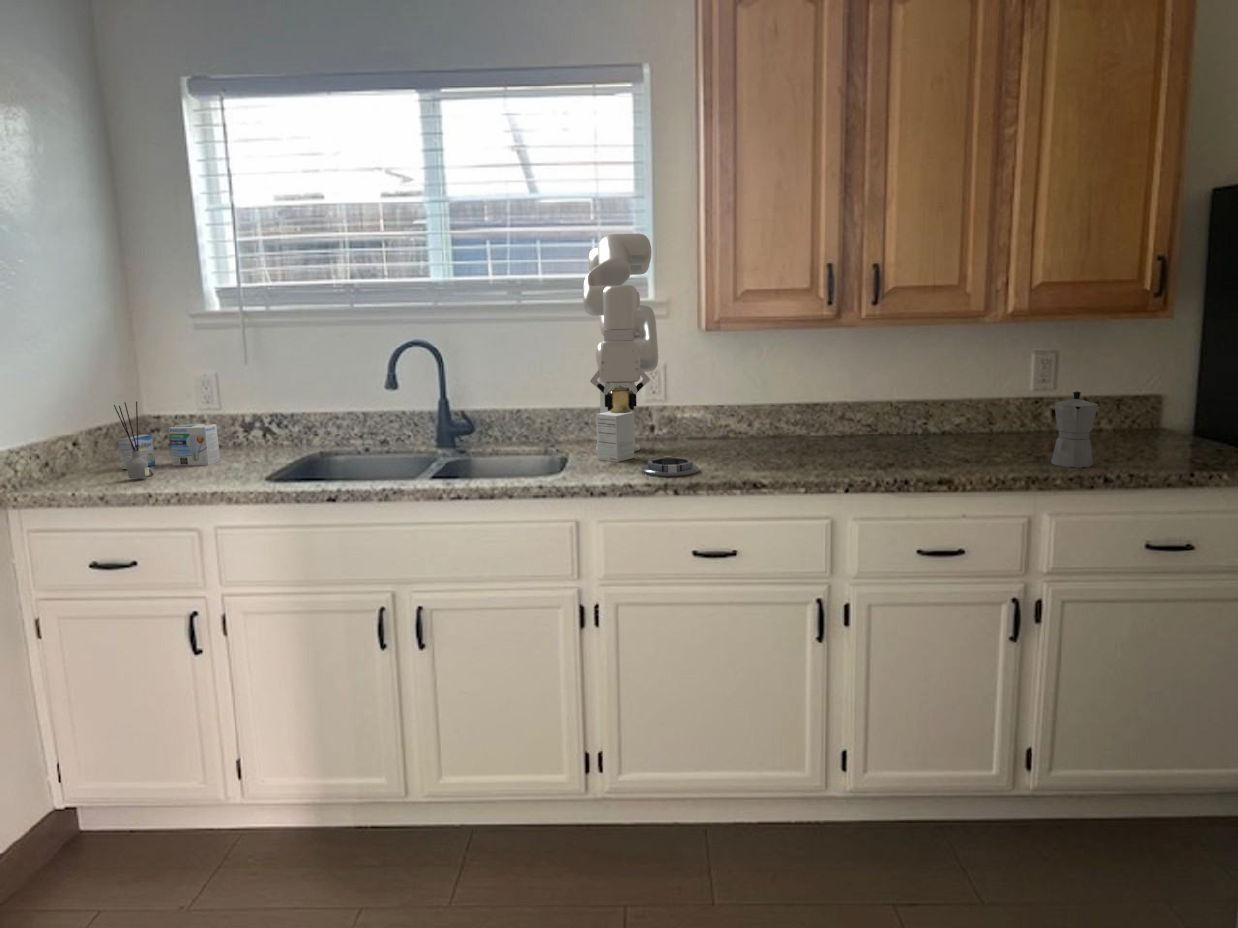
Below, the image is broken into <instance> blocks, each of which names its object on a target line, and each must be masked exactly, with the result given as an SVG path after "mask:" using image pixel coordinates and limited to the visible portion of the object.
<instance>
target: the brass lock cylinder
mask: <svg viewBox="0 0 1238 928" xmlns="http://www.w3.org/2000/svg"><path fill="white" fill-rule="evenodd" d="M610 403H611V410H610V412H611V413H630V412H631V390H629V388H628V387H622V386H619V387H615V388H611V390H610Z"/></svg>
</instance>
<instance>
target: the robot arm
mask: <svg viewBox="0 0 1238 928" xmlns="http://www.w3.org/2000/svg"><path fill="white" fill-rule="evenodd" d="M651 261H652V245H651V242H650V239H649V238H648V237H647V236H646V235H645V234H643V233H612V234H608V235H607V234H606V235H605V236H603V237H602V238H601V239H600V241H599V243H598V246H596V247H594V248H592V249H591V250H590V251H589V254H588V261H587V262H588V269H589V272H588V273H587V275H586V276H585V278H584V281H583V285H582V286H583V287H582V301H583V307H584V310H585V312H586V314H588V315H589V316H595V317H596V316H597V317H599V329H600V332H601V335H602V336H603V340H601V341H600V342H599V343H598V344H597V346H596V348H595V359H596V366H597V370H596V372H595V373H594V375H593V376H592V377H591V379H590V383H591V384H592V385H593V386H594V387H596V388H597V389H599V402H600V403H599V407H600V411H599V412H600V413H604V412H610V410H611V403H610V390H611V388H615V387H619V386H622V387H628V388H629V390H631V412H632V413H633V431H634V432H635V407H637V406H638V405H637V394H638V393H639V392H640V391H641V389H642V388H643V387H644V386H645V385H647V384H648V383H649V382H650V381H651V379H650V377H649V376H648V375H647V373H649V372H653V371H655V370H656V369H657V367H658V364H659V346H658V334H657V320H656V315H655V314H656V313H655V312H654V310H653V308H652V307H650V306H649V305H646V304H641V298H640V297H641V295H640V292H639V291H638V290H637V288H636V287H635V286H634V285H629V284H626V285H625V283H626V282H627V281H628V280H629V279H630V277H631V276H632V275H633V276H634V275H635V276H637V275H639V276H640V275H644V274H645V273H647V272H648V270H649V268H650V263H651ZM640 379H642V380H641V381H640ZM637 382H639V383H637ZM636 383H637V385H636ZM595 450H596V451H597V445H596V446H595ZM639 450H641V445H640V444H638V443H635V441H634V453H635V452H638V451H639Z"/></svg>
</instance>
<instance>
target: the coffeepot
mask: <svg viewBox="0 0 1238 928" xmlns="http://www.w3.org/2000/svg"><path fill="white" fill-rule="evenodd" d="M1072 394H1073V398H1071V399H1067V400H1063V401H1058V402H1055V403H1054V411H1055V412H1054V413H1055V422H1056V430H1057V431H1058V437H1057V439H1056V441H1055V446H1054V449H1053V453H1052V457H1051V460H1050V463H1051V464H1052V465H1053V464H1054V466H1057V467H1061V466H1062V468H1070V467H1073V468H1074V467H1075V468H1074V469H1078V468H1079V469H1081V468H1082V467H1086V468H1090V466H1091V467H1092V466H1093V465H1094V461H1093V459H1094V458H1093V450H1092V441H1091V439H1090V433H1091V432H1092V431H1093V428H1094V423H1095V418H1096V416H1097V415H1096V414H1097V410H1098V407H1099V404H1098V403H1094V402H1091V401H1088V400H1083V399H1080V397H1081V394H1082V392H1081V391H1073V392H1072ZM1073 468H1072V469H1073ZM1082 469H1083V468H1082Z"/></svg>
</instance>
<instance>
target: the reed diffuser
mask: <svg viewBox="0 0 1238 928" xmlns="http://www.w3.org/2000/svg"><path fill="white" fill-rule="evenodd" d="M124 406H125V410H126V414H127V418H128V422H129V426H130V429H131V433H132V436H133V438H134V442H135V446H136V450H135V448H134V445H133V443H132V441H131V439H130V437H131V436H130V432H129V430H128V427H127V424H126V420H125V418H124V413H123V411H122V408H121V406H120V405H118V408H119V411H120V413H119V411H118V409H117V407H116V405H115V404H113V407H114V409H115V411H116V413H117V416H118V418H119V420H120V422H121V424H122V426H123V428H124V430H125V433H126V435H127V437H129V440H130V442H131V446H132V449H133V451H132V459H130V460H129V461H128V462H127V470H126V471H127V475H128V478H129V479H142V478H143V479H144V478H147V477H149V476H151V475H153V476H154V475H155V474H156V471H155V470H154V468H153V467H152V468H151V467H148V462H147V461H146V460H145V459H143V458H141V456H140V450H139V448H138V435H139V427H138V426H139V425H138V424H139V422H138V421H139V419H138V418H139V416H138V413H139V412H138V401H135V409H136V410H135V411H136V412H135V415H136V416H135V417H136V418H135V419H136V436H137V445H136V441H135V437H134V436H135V433H134V430H133V426H132V422H131V419H130V413H129V411H128V408H127V407H128V406H127V403H126V402H124ZM120 414H121V415H120ZM121 417H122V418H121Z"/></svg>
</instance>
